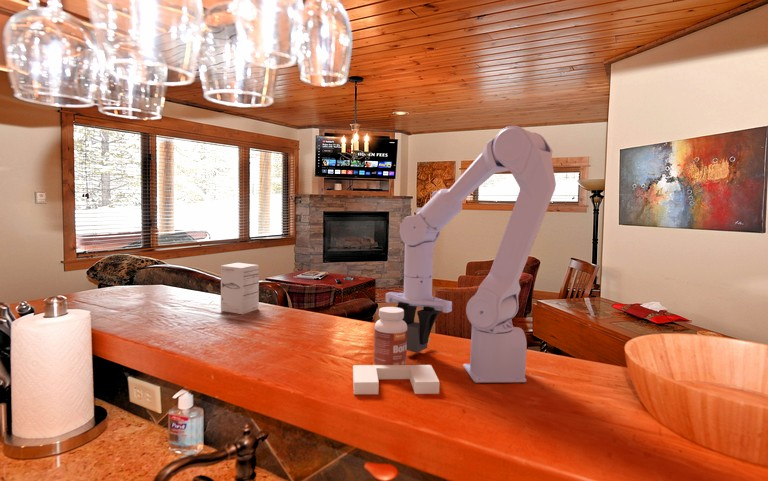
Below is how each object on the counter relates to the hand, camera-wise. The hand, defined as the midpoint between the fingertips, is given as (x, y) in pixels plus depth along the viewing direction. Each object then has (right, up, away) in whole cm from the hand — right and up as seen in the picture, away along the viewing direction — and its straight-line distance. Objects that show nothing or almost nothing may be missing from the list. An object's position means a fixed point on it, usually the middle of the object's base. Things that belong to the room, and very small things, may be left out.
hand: (416, 341), depth 92 cm
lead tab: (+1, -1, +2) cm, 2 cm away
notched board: (-5, -4, -15) cm, 16 cm away
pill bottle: (-6, -3, -7) cm, 10 cm away
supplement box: (-46, +1, +31) cm, 56 cm away
